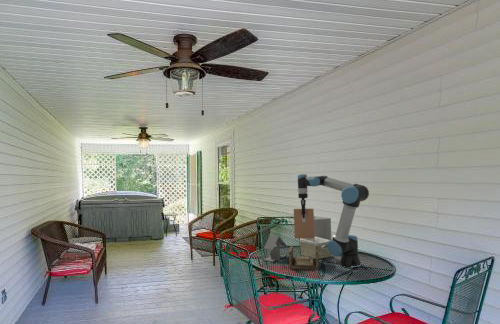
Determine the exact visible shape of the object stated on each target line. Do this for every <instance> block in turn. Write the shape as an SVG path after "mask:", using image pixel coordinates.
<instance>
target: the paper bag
mask: <svg viewBox="0 0 500 324" xmlns="http://www.w3.org/2000/svg"><path fill="white" fill-rule="evenodd" d="M331 219H332V218H331V217H325V216H318V215H317V216H315V215H314V234H315V237H319V238H323V239H327V240H332V238H333V237H332V221H331Z"/></svg>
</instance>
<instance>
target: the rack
mask: <svg viewBox="0 0 500 324" xmlns="http://www.w3.org/2000/svg"><path fill="white" fill-rule="evenodd" d="M295 258H296V257H294V246H293V245H290V247H289V250H288V261H289V263H288V264H289V266H288V267H289V270H292V269H293V270H319V265H320V263H319V260H320V259H319V258H318V246H316V258H313V257H311V258H310V260H313V263H314V266H310V265H294V264H295V262H297V261H295Z"/></svg>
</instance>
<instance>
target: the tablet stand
mask: <svg viewBox="0 0 500 324" xmlns="http://www.w3.org/2000/svg"><path fill="white" fill-rule="evenodd" d="M275 245H276V248H275ZM281 247H285V248H286V247H287V244H286V243H285V242H284V240H283V239H282V238H281V237H280V236H279V235H274V234H270V235H269V237H268V239H267V240H266V243H265V245H264V247H263V250H265V251H269V254H270V256H268V257H265V258H264V261H265V262H269V263H276V262H275V261H277V260H280V259H281V258H284V257H286V255H283V254H281ZM274 248H275V249H274Z"/></svg>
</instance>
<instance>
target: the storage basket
mask: <svg viewBox="0 0 500 324" xmlns="http://www.w3.org/2000/svg"><path fill="white" fill-rule="evenodd" d="M330 241H331V240H327V239H323V238H319V237H315V239H309V238H299V242H300V250H301V255H302V257H311V258H314V259H316V246H318V258H319V260H321V259H325V258H330V257H331V256H332V254H331V253H330V252H329V250H328V243H329V242H330Z"/></svg>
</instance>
